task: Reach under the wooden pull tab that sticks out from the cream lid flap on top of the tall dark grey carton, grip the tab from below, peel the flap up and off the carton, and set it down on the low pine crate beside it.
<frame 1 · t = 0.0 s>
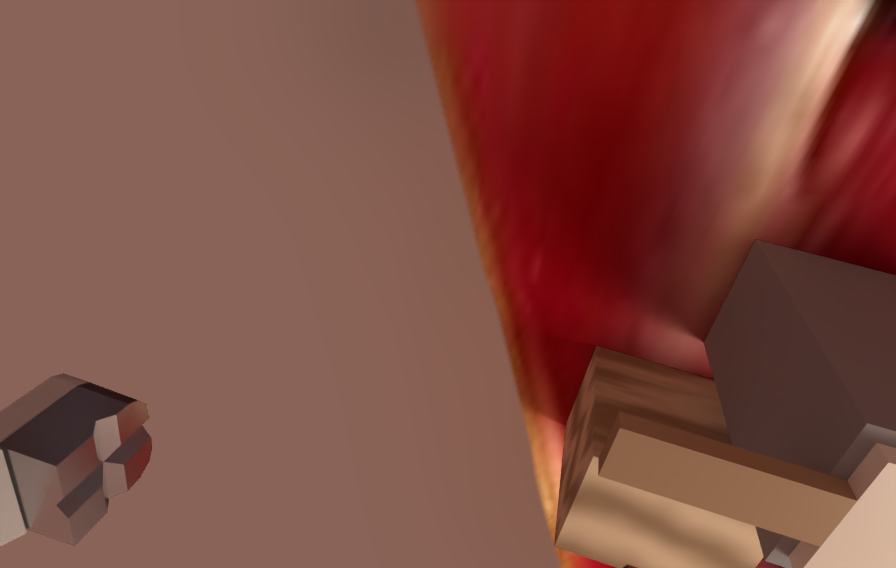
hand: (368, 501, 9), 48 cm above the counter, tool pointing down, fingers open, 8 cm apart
pine crate: (650, 408, 64), on the counter
carton: (812, 316, 54), on the counter
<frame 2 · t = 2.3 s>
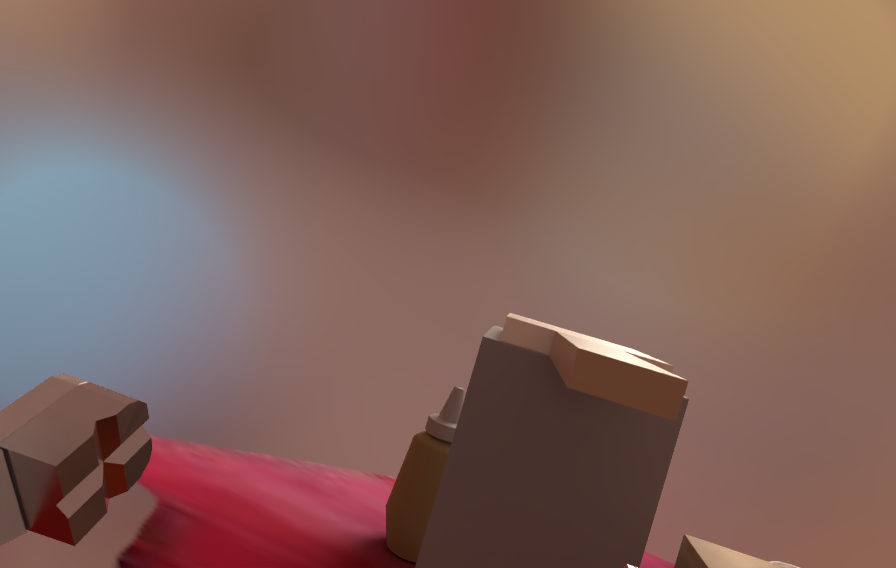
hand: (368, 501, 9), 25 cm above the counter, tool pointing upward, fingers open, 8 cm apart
squeeze bottle: (411, 551, 60), on the counter
lid flap: (572, 355, 39), point 26 cm above the counter, touching carton
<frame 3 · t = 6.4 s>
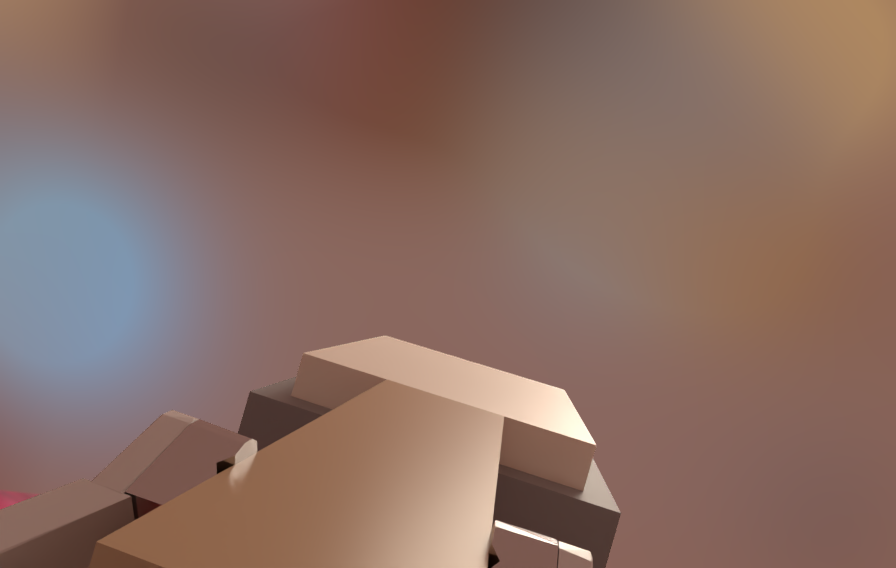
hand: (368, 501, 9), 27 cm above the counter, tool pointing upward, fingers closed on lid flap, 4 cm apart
lid flap: (452, 409, 24), point 26 cm above the counter, touching carton, gripper
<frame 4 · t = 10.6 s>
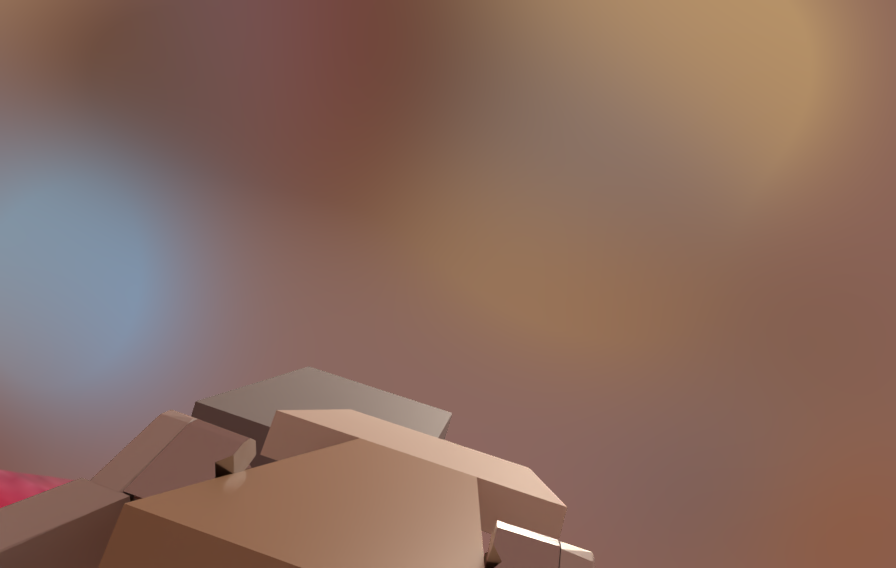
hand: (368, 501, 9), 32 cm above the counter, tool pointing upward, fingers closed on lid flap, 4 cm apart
lid flap: (419, 480, 24), point 27 cm above the counter, tilted 11°, touching carton, gripper
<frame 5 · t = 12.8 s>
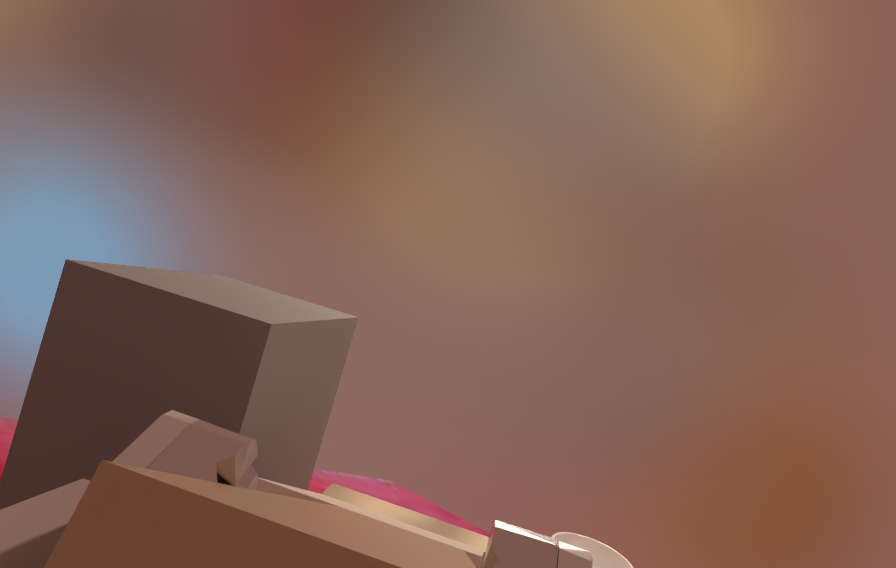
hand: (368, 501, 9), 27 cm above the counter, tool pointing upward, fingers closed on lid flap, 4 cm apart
lid flap: (399, 567, 22), point 19 cm above the counter, tilted 22°, touching gripper
when the fingers open (20 cm above the counter, at t = 14.7 s): lid flap stays where it is, resting on pine crate.
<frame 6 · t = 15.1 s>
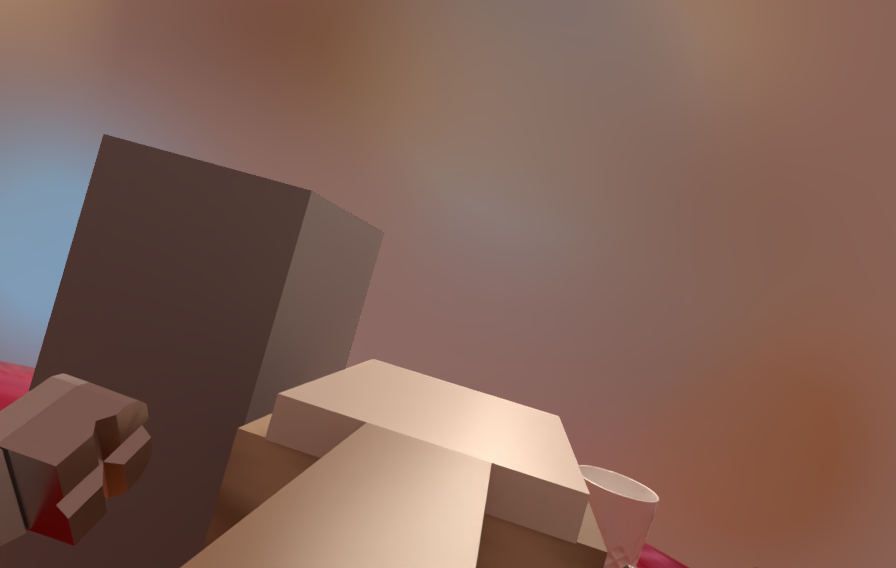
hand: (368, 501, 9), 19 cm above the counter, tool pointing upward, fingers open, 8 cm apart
lid flap: (440, 442, 23), point 17 cm above the counter, touching pine crate
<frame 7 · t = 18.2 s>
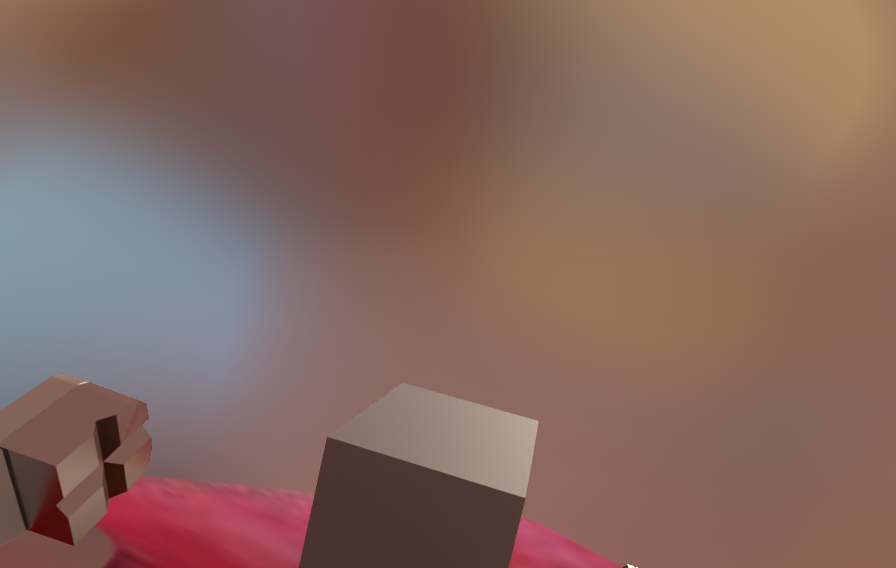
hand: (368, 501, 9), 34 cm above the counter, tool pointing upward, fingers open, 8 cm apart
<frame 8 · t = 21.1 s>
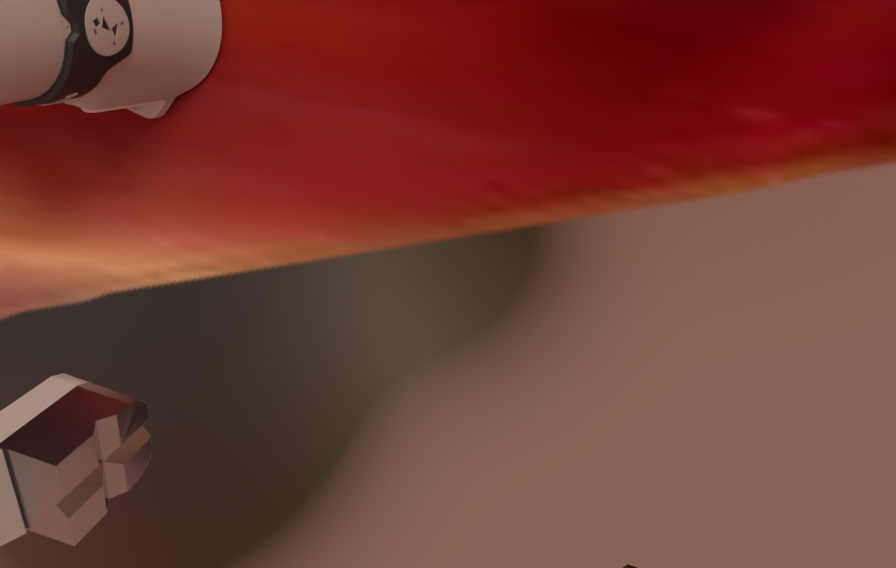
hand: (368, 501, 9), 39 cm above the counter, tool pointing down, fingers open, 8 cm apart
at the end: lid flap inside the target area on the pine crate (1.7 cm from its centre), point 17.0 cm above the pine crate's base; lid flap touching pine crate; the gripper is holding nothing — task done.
